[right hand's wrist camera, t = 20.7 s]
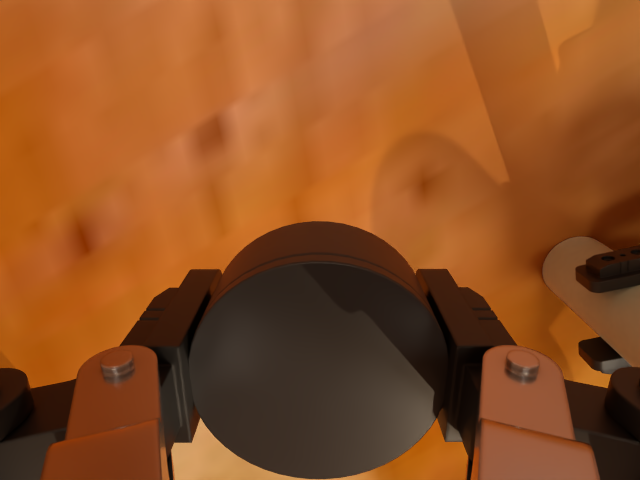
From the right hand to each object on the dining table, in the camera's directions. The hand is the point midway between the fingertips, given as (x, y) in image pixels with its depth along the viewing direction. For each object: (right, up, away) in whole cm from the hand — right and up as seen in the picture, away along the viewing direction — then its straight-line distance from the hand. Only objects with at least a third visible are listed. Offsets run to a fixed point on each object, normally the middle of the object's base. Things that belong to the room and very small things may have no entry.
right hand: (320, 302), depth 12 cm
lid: (0, -1, -3) cm, 3 cm away
